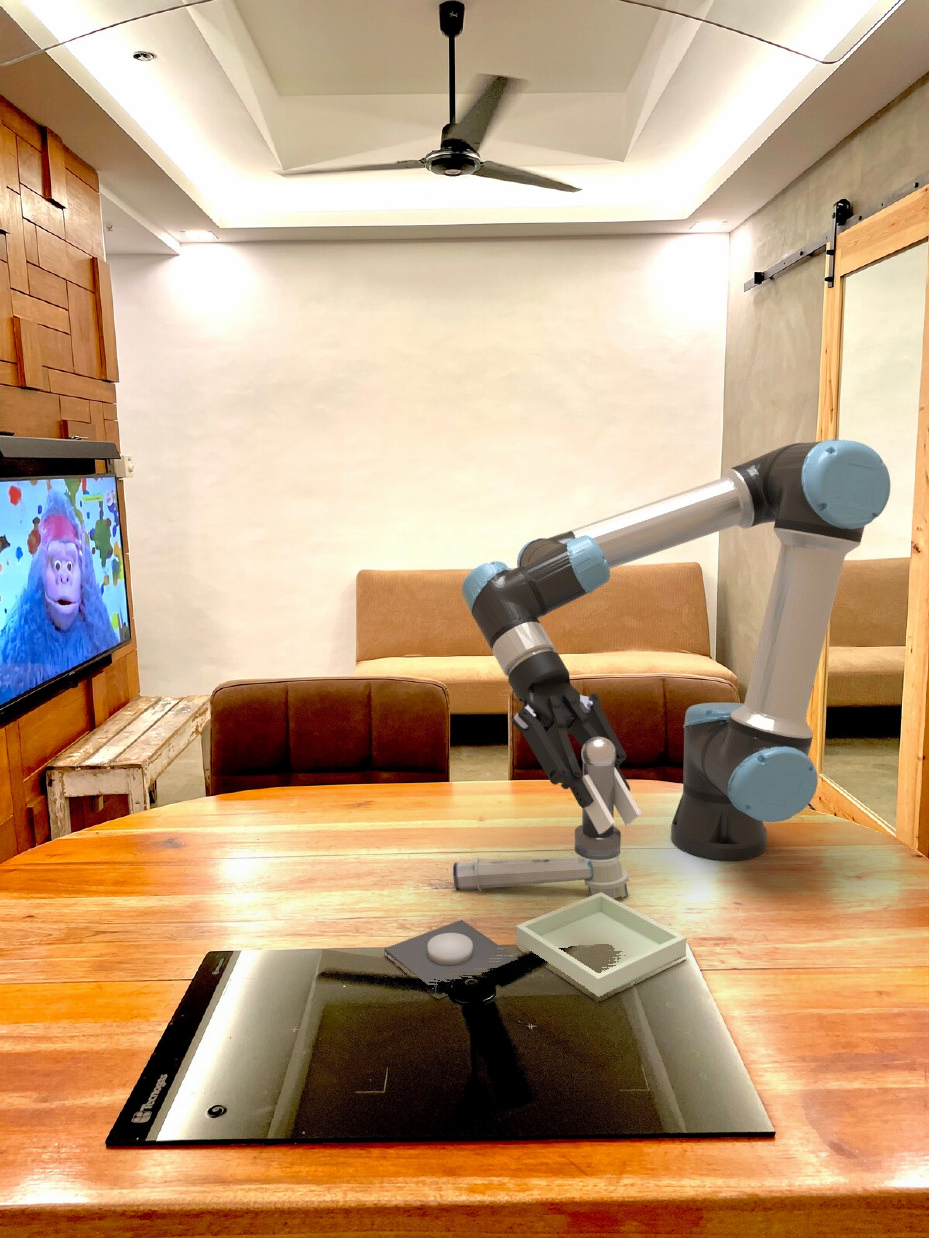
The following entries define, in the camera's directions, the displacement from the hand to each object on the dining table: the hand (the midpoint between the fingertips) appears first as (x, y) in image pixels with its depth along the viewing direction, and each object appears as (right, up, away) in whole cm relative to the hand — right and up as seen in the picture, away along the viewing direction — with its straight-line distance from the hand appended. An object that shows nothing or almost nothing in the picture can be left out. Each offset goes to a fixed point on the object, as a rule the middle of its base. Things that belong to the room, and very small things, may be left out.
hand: (620, 823), depth 104 cm
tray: (-2, -18, +6) cm, 19 cm away
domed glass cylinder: (-2, -4, +4) cm, 6 cm away
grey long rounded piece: (-8, -16, +23) cm, 29 cm away
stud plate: (-20, -18, +5) cm, 28 cm away
